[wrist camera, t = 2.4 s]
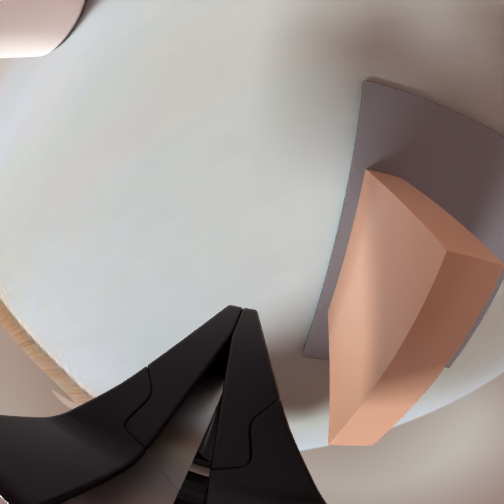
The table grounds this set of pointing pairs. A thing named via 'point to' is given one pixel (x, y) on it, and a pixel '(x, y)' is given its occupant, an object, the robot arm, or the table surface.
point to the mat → (420, 179)
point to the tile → (399, 306)
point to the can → (36, 25)
